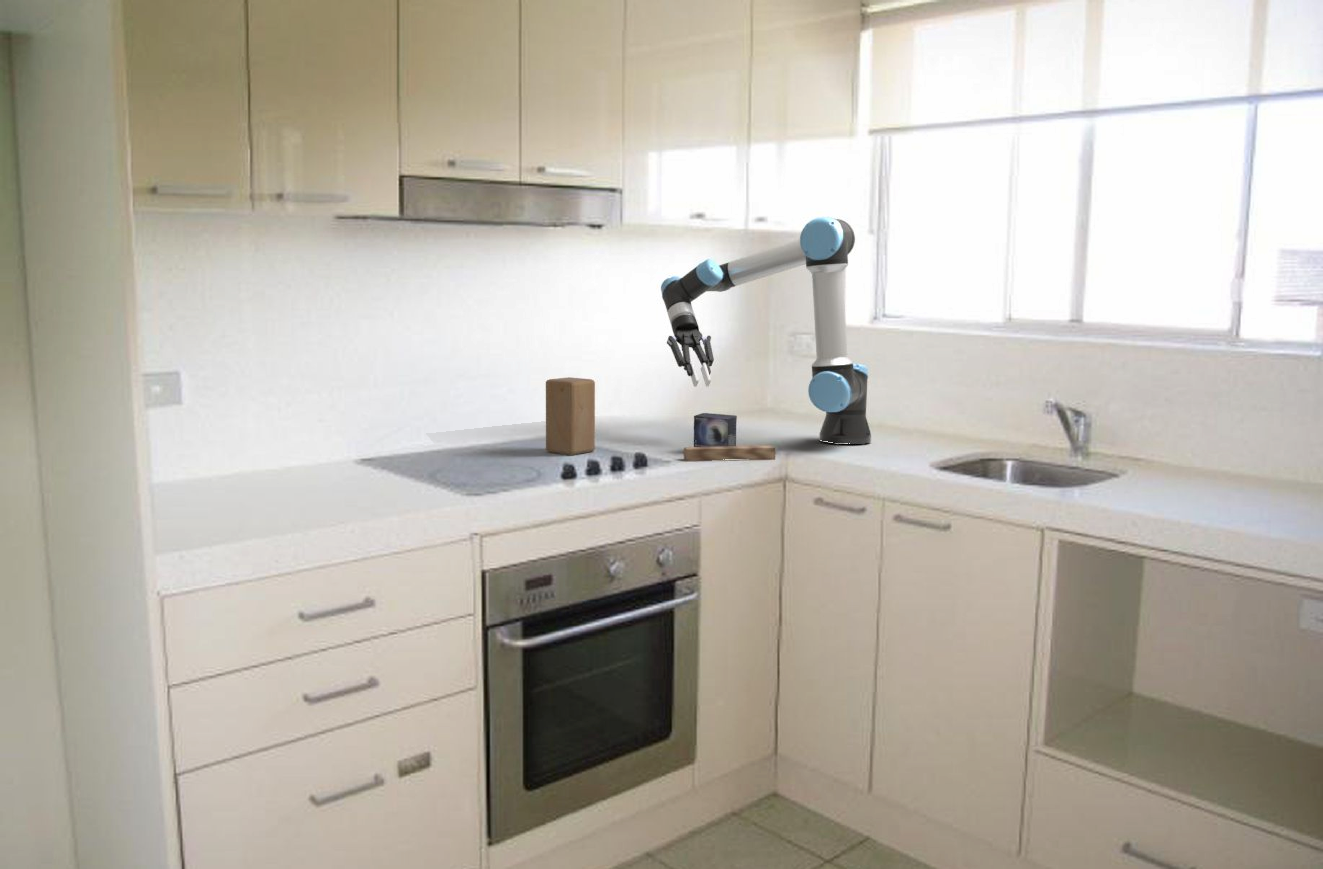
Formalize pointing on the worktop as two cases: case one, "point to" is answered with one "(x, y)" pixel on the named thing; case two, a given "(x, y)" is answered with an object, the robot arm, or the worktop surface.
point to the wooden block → (570, 416)
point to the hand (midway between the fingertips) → (702, 383)
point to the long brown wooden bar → (729, 453)
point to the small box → (714, 430)
